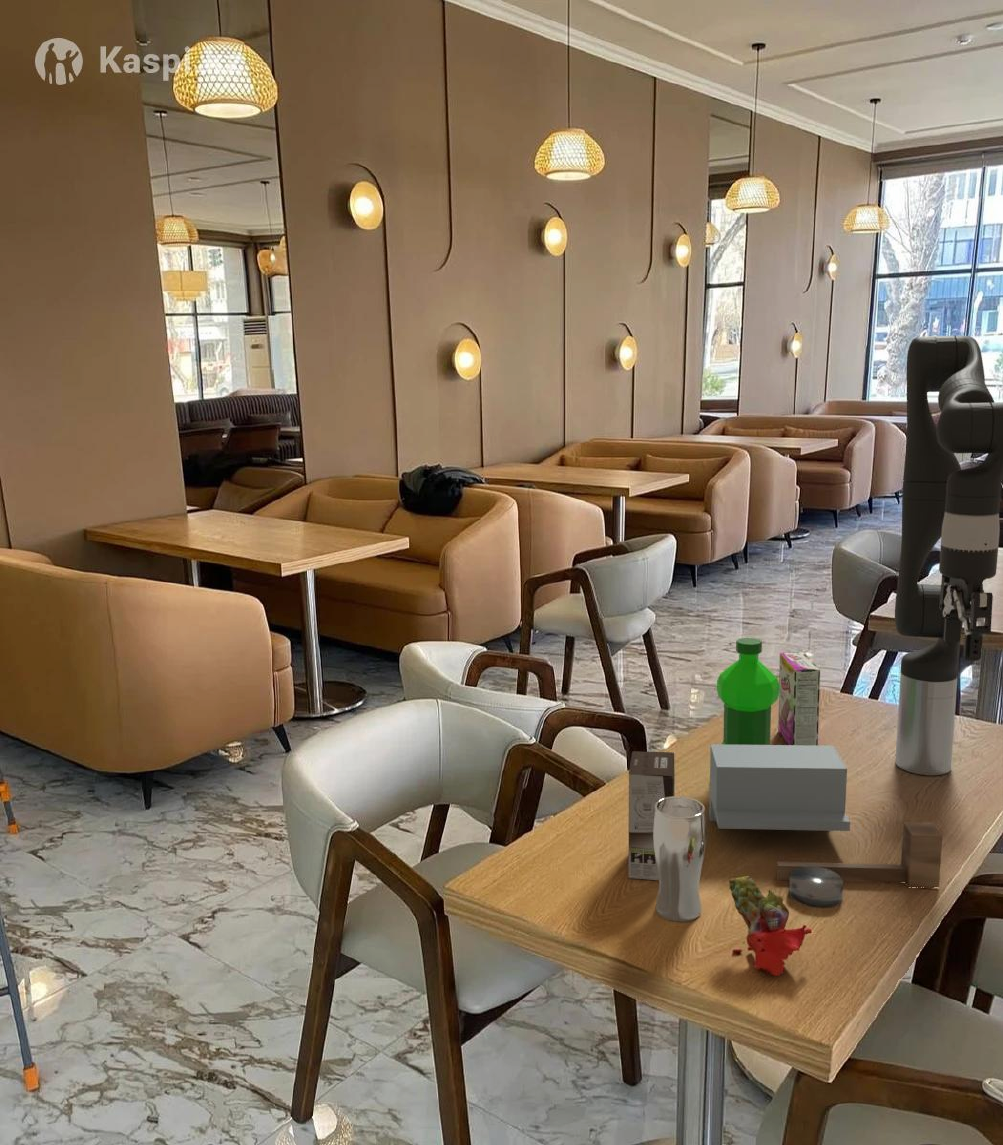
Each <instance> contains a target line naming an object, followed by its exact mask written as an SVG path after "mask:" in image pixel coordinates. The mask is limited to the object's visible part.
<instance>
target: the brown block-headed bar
mask: <svg viewBox="0 0 1003 1145" xmlns="http://www.w3.org/2000/svg"><path fill="white" fill-rule="evenodd" d="M942 847H943V835H942V833H941V832H940V830H939V829H938V828H937V826H936V824H935V823H934V822H928V821H927V822H921V821H919V822H916V821H913V822H912V821H903V825H902V840H901V857H900V858H901V859H900V864H893V863H892V864H890V863H889V864H887V863H884V864H883V863H854V862H853V863H851V862H850V863H849V862H848V863H847V862H846V863H845V862H843V863H842V862H806V861H804V862H803V861H776V874H775V876H776V878H777V879H776V880H777V881H790V873H791V872H792V871H793V870H794V869H796V868H799V867H804V866H815V867H822V868H825V869H828V870H831V871H833V872H835V873H837V874H838V875H839V876H840V877H841V878H842V880H843V883H844V882H845V883H848V882H849V883H873V882H887V883H886V884H889V883H888V882H899V883H898V884H901V883H900V882H905V883H904V884H905V885H906V884H907V885H908V886H907V885H906V886H907V888H908V887H911V888H912V887H916V888H917V887H918V888H921V887H922V888H923V887H924V888H934V887H939V888H940V879H941V878H940V877H941V876H940V875H941V862H942Z"/></svg>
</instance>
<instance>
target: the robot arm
mask: <svg viewBox="0 0 1003 1145" xmlns="http://www.w3.org/2000/svg"><path fill="white" fill-rule="evenodd" d="M906 356H907V357H906V380H905V381H906V437H905V438H906V440H905V453H904V465H903V466H904V468H903V479H902V480H903V481H902V496H901V498H902V500H901V540H900V542H901V545H900V546H901V547H900V554H899V555H900V557H899V566H898V575H897V583H896V593H895V603H894V604H895V605H894V606H895V607H894V623H895V628H896V631H897V633H898V634H899V635H900V636H903V637H911V638H912V637H913V638H933V639H935V638H936V639H937V640H936V641H935V642H933V643H932V644H931V645H929V646H927V647H924V648H921V649H918V650H914V651H910V652H908V653H905V655H903V657H902V658H901V661H900V673H899V674H900V677H899V678H900V680H899V696H898V711H897V712H898V713H897V726H896V728H897V729H896V745H895V746H896V747H895V765H896V766H897V767H898V768H900V769H902V770H904V771H906V772H909V773H912V774H917V775H923V776H939V775H940V776H941V775H945V774H948V773H950V771H951V769H952V761H953V760H952V759H953V749H954V748H953V746H954V732H955V719H956V717H955V716H956V703H957V686H958V673H959V661H960V649H961V640H962V639H961V638H962V633H963V630H964V641H963V654H962V655H963V659H965V660H967V661H979V660H981V658H982V649H983V639H984V638H983V636H986V635H990V634H991V633H992V621H993V620H992V619H993V616H992V615H993V603H994V602H993V600H994V599H993V598H994V595H993V593H992V592H985V590H984V584H983V583H984V581H986V580H987V579H989V580H990V579H992V578H994V577H995V576H996V575H997V568H998V567H997V566H998V556H999V544H1000V543H999V542H1000V530H1001V529H1000V528H1001V527H1000V508H1001V507H1000V504H1001V493H1002V492H1001V491H1002V484H1003V402H995V400H994V398H993V396H992V394H991V392H990V390H989V388H988V386H987V384H986V380H985V379H986V378H985V368H984V363H983V356H982V351H981V347H980V344H979V342H978V341H977V340H976V339H975V338H974V337H972V336H970V335H962V334H961V335H929V336H927V335H926V336H917V337H915V338H913V339H912V340H911V342H910V344H909V347H908V350H907V354H906ZM928 393H938V396H937V404H938V408H939V410H940V415H939V417H938V420H937V421H938V422H937V424H936V422H935V420H934V418H933V415H932V411H931V409H930V405H929V400H928ZM955 454H987V455H986V457H985V459H984V460H983V461H982V462H981V463H980V464H979V465H976V466H974V467H968V468H964V469H962V467H961V465H960V462H959V460H958V458H957V456H956V455H955ZM939 540H940V548H939V549H940V551H939V563H938V564H939V565H938V571H939V573H940V574H941V583H940V584H931V583H930V584H925V583H920V584H919V583H918V581H919V577H920V574H921V571H922V568H923V565H924V564H925V562H926V559H927V558H928V556H929V554H930V553H931V552H932V550H933V548H934V547H935V546H936V544H937V543H938V542H939ZM963 628H964V629H963Z"/></svg>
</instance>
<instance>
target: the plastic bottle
mask: <svg viewBox="0 0 1003 1145" xmlns="http://www.w3.org/2000/svg"><path fill="white" fill-rule="evenodd" d="M762 650H763V642H762V640H760V639H759V638H754V637H741V638H738V639H736V641H735V652H737V653H738V660H737V661H735V662H734V663H732V664H731V665H730V666H728V667H727V668H725V670H723V671H722V672H721V673H720V674H719V675H718V678H717V681H716V691H717V694H718V695H717V696H718V698H719V699H720V700H721V701H722V702H723V741H722V742H721V744H722V745H771V725H772V724H771V723H772V722H771V718H772V705H773V704H774V703H775V702H777V701H778V700H779V688H780V685H779V679H778V678H777V676H776V675H775V674H774V673H773V672H772V671H771V670H770V669H769V668H768V667H766V665H765V664H763V663H762V662H761V661H760V660H759V654H761V653H762Z"/></svg>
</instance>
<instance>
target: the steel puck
mask: <svg viewBox="0 0 1003 1145" xmlns="http://www.w3.org/2000/svg"><path fill="white" fill-rule="evenodd" d="M788 881H789V882H788V883H789V884H788V885H789V886H788V891H789V892H788V893H789V895H790V897H791V898H792V899H793V900H794V901H796V902H797V903H799V904H801V905H804V906H808V907H810V908H817V909H828V908H832V907H833V908H834V907H835V906H838V905H839V904H840V903H841V902H842V901H843V890H844V882H843V880H842V878H841V877H840V876H839V875H838V874H837V873H835V872H833V871H831V870H828V869H825V868H822V867H815V866H804V867H799V868H796V869H794V870H793V871H792V872H791V873H790V880H788Z"/></svg>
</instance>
